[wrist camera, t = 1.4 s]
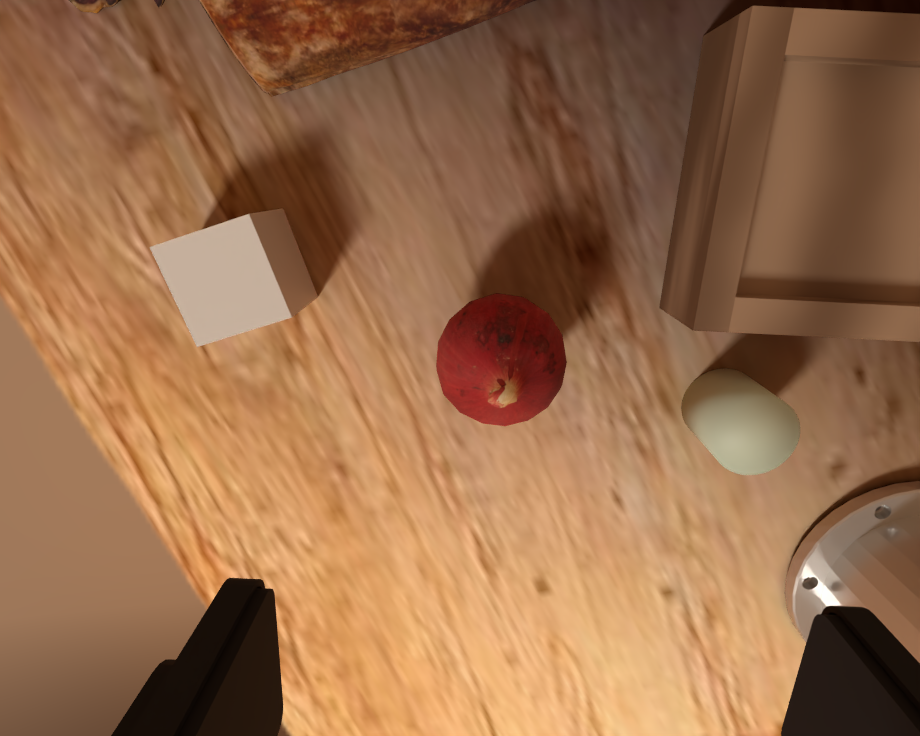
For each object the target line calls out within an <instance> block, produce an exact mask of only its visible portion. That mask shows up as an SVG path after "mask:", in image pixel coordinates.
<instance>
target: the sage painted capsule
mask: <svg viewBox="0 0 920 736" xmlns="http://www.w3.org/2000/svg"><path fill="white" fill-rule="evenodd" d="M681 409H682V416H683V419H684V421H685V423H686V425H687V426H688V428H689V429H690V430H691V431H692V432H693V433H694V434H695V435H696V437H697V438H698V439H699V440H700V441H701V442H702V443H703V445H704V446H705V447H706V448H707V449H708V450H709V451H710V452H711V454H712V455H713V456H714V457H715V458H716V459H717V460H718V462H719V463H720V464H721V465H722V466H723V467H725V468H726V469H728V470H730V471H732V472H734V473H737V474H741V475H757V474H762V473H765V472H768V471H771V470H773V469H775V468H776V467H778V466H780V465H781V464H782V463H783V462H785V461H786V460H787V459H788V458H789V456H790V455H791V454H792V453H793V451H794V450H795V448H796V446H797V444H798V441H799V437H800V423H799V419H798V417H797V414H796V413H795V411H794V410H793V409H792V408H791V407H790V406H789V405H788V404H787V403H785V402H784V401H783V400H781V399H780V398H778V397H777V396H776V395H774V394H773V393H771V392H770V391H768V390H767V389H766V388H764V387H763V386H761V385H760V384H759V383H757V382H756V381H754V380H753V379H751V378H750V377H749V376H747V375H746V374H744V373H742V372H740V371H738V370H734V369H728V368H722V369H715V370H712V371H709V372H707V373H705V374H703V375H701V376H700V377H698V378H697V379H696V380H695V381H693V383H692V384H691V385H690V386H689V387H688V389H687V390H686V392H685V394H684V397H683V400H682V406H681Z"/></svg>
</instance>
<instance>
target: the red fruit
mask: <svg viewBox="0 0 920 736" xmlns="http://www.w3.org/2000/svg"><path fill="white" fill-rule="evenodd" d="M566 363H567V362H566V356H565V349H564V343H563V336H562V334H561V332H560V330H559V329H558V327H557V326H556V324H555V323H554V321H553V320H552V318H551V317H550V315H549V314H548V313H547V312H545V311H544V310H542V309H541V308H539V307H538V306H536V305H535V304H533V303H532V302H530V301H529V300H527V299H526V298H524V297H520V296H513V295H506V294H499V293H496V294H493V295H489V296H486V297H483V298H480V299H477V300H473V301H471V302H469V303H468V304H467V305H466V306H464V307H463V308H462V309H461V310H460V311H459V312H458V313H456V314H455V315H454V316H453V317H452V318H451V319H450V320H449V322H448V324H447V326H446V328H445V329H444V331H443V333H442V335H441V337H440V339H439V341H438V352H437V364H436V367H437V373H438V376H439V380H440V384H441V387H442V391H443V394H444V395H445V396H446V398H447V399H448V400H449V401H450V402H451V403H452V404H453V405H454V406H455V407H456V408H457V410H458V411H459V412H460V413H463V414H465V415H467V416H469V417H471V418H473V419H475V420H477V421H479V422H481V423H484V424H492V425H501V426H507V425H511V424H516V423H520V422H524V421H528V420H529V419H531V418H532V417H534V416H535V415H537V414H538V413H540V412H541V411H543V410H544V409H546V408H547V407H548V406H549V405H550V403H551V402H552V400H553V399H554V397H555V396H556V394H557V393H558V391H559V390H560V388H561V386H562V383H563V378H564V373H565V368H566Z"/></svg>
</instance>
